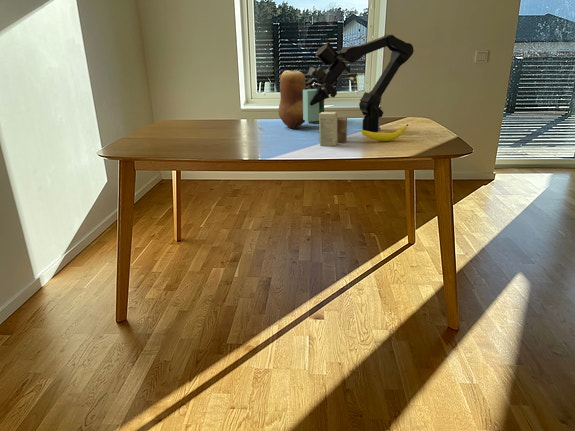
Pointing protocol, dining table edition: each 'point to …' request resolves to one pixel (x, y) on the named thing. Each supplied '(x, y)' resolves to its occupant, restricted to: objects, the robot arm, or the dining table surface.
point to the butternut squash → (291, 98)
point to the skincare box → (328, 128)
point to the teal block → (310, 111)
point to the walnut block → (341, 130)
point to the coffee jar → (321, 109)
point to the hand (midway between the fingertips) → (307, 104)
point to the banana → (384, 135)
